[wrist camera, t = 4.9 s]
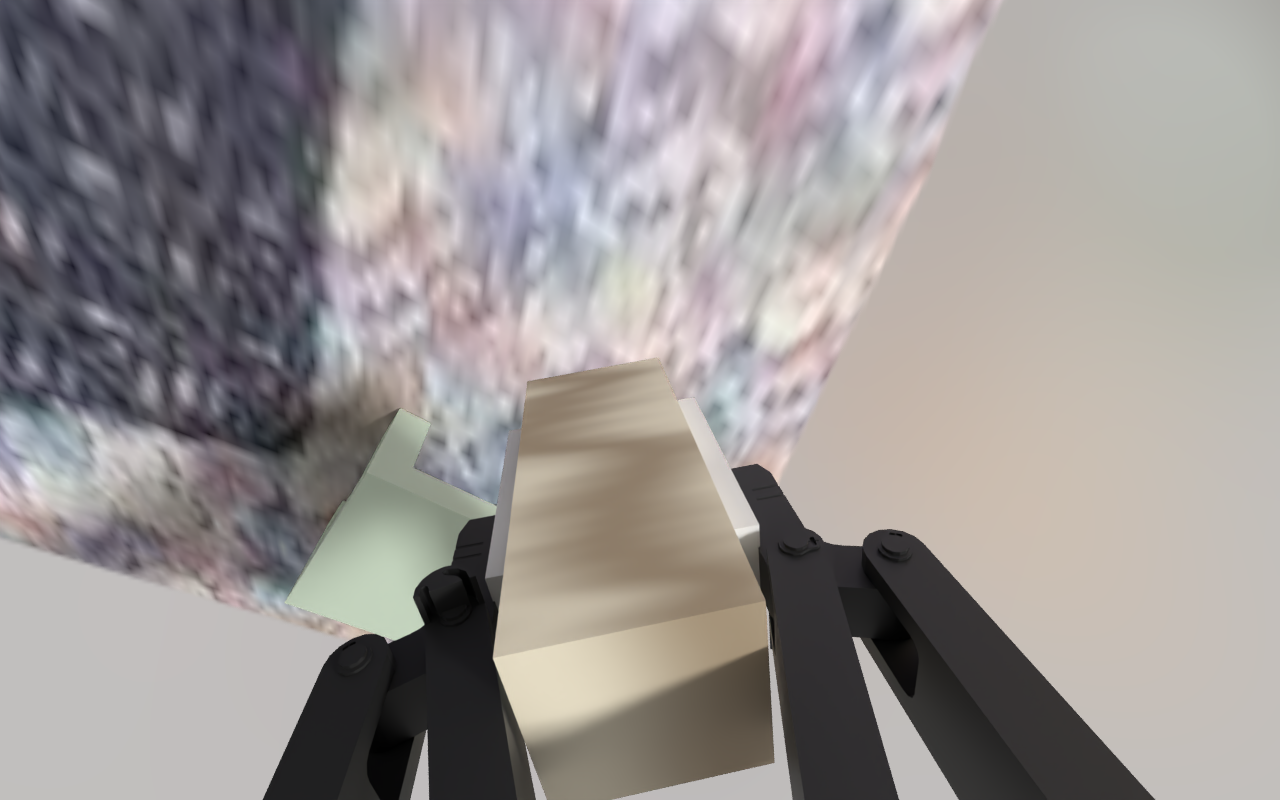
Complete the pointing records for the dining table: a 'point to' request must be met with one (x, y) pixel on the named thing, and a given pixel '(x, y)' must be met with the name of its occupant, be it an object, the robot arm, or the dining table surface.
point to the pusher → (627, 596)
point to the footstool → (386, 539)
